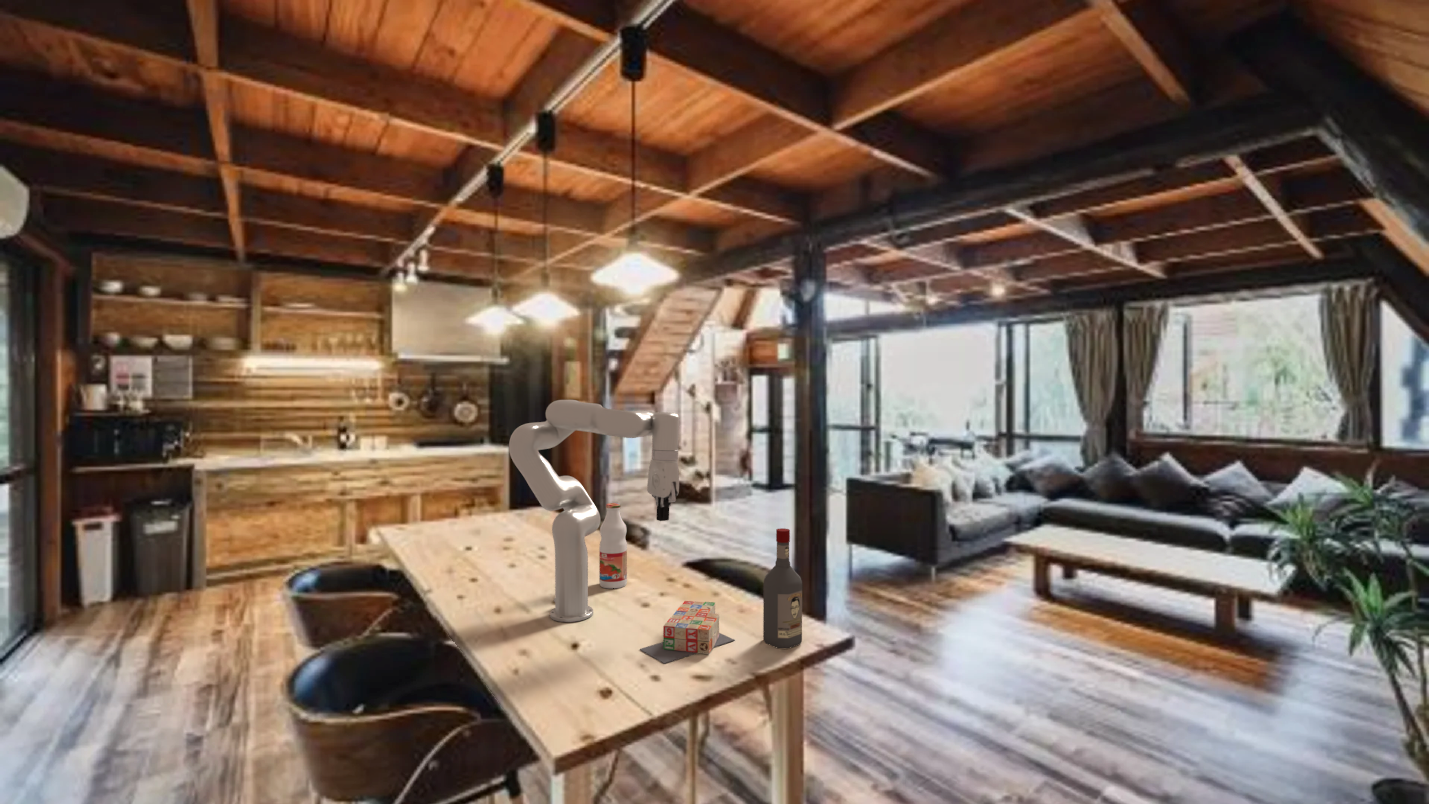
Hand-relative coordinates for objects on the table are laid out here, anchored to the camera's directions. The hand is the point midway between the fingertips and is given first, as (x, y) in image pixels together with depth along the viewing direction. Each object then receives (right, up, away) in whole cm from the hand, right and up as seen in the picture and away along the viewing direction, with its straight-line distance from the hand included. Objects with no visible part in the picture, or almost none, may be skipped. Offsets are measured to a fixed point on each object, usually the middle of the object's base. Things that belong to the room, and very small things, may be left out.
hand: (662, 520), depth 182 cm
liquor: (+33, -31, -11) cm, 46 cm away
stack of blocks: (+4, -27, -7) cm, 28 cm away
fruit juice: (-20, -30, +38) cm, 53 cm away
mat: (+8, -30, -14) cm, 34 cm away
